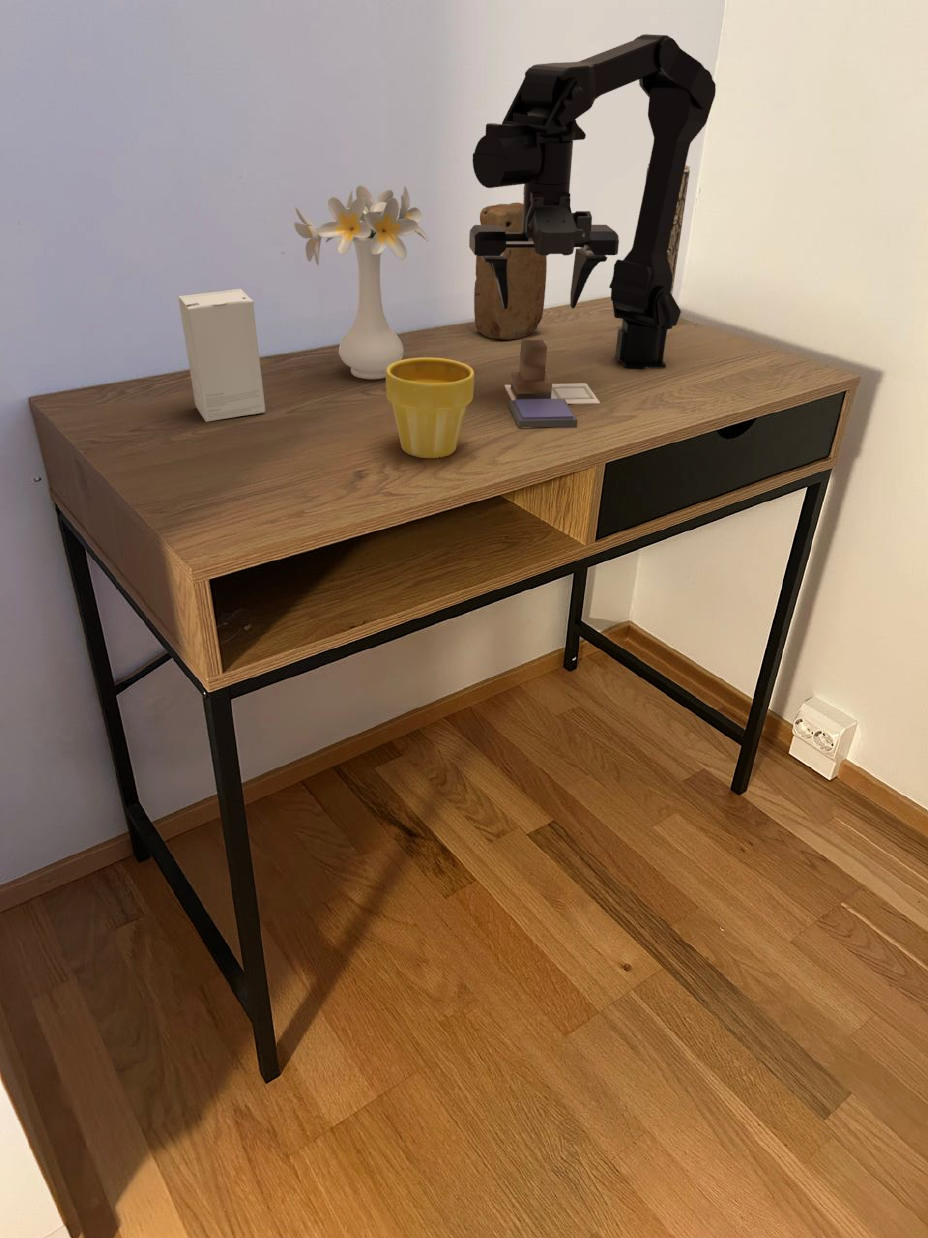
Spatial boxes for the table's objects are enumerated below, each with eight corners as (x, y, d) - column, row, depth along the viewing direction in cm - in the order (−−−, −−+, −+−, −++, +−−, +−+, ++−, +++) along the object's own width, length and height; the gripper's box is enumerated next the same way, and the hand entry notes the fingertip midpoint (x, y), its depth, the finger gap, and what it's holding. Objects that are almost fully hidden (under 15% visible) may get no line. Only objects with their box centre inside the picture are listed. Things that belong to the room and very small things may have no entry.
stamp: (544, 386, 135) (547, 337, 131) (550, 398, 131) (555, 348, 127) (510, 387, 134) (513, 338, 130) (516, 399, 130) (519, 348, 126)
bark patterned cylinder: (628, 326, 164) (647, 167, 150) (629, 315, 169) (647, 161, 156) (668, 328, 163) (691, 169, 149) (667, 318, 168) (689, 163, 155)
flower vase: (291, 373, 138) (278, 186, 124) (397, 352, 147) (395, 177, 134) (338, 399, 129) (328, 201, 116) (446, 375, 139) (449, 190, 125)
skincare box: (254, 400, 128) (243, 286, 120) (267, 414, 124) (256, 298, 116) (192, 408, 125) (176, 292, 117) (202, 423, 120) (187, 304, 112)
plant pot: (454, 428, 121) (456, 352, 116) (484, 459, 113) (487, 379, 108) (376, 437, 118) (375, 359, 113) (401, 469, 110) (400, 387, 105)
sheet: (586, 384, 137) (586, 382, 137) (599, 403, 130) (600, 401, 130) (504, 385, 136) (504, 383, 135) (514, 405, 129) (514, 403, 129)
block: (492, 343, 153) (497, 210, 142) (468, 331, 158) (472, 202, 147) (547, 335, 158) (557, 206, 147) (523, 324, 163) (530, 198, 152)
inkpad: (564, 406, 129) (564, 397, 128) (576, 426, 123) (577, 417, 122) (509, 407, 128) (509, 398, 128) (519, 428, 122) (519, 418, 121)
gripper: (483, 191, 111) (479, 325, 119) (637, 191, 113) (622, 323, 122) (470, 176, 120) (467, 302, 128) (613, 177, 122) (600, 300, 131)
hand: (539, 307), depth 127 cm, fingers open, 9 cm apart
